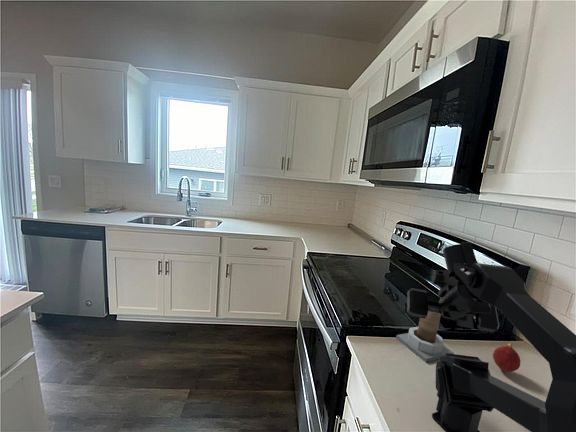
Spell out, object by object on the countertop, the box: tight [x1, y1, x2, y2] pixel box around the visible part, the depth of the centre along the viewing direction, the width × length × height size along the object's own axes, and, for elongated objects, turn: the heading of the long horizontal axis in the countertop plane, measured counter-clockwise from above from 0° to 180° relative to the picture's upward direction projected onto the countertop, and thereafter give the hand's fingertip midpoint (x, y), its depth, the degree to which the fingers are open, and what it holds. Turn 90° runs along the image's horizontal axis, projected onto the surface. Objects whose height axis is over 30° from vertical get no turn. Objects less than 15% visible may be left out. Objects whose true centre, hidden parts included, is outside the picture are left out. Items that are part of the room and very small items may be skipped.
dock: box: [395, 326, 455, 363], centre depth 82 cm, size 11×11×4 cm
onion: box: [492, 343, 521, 373], centre depth 74 cm, size 6×6×8 cm
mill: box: [416, 308, 442, 343], centre depth 81 cm, size 5×5×13 cm
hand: (438, 319), depth 71 cm, fingers open, 9 cm apart
